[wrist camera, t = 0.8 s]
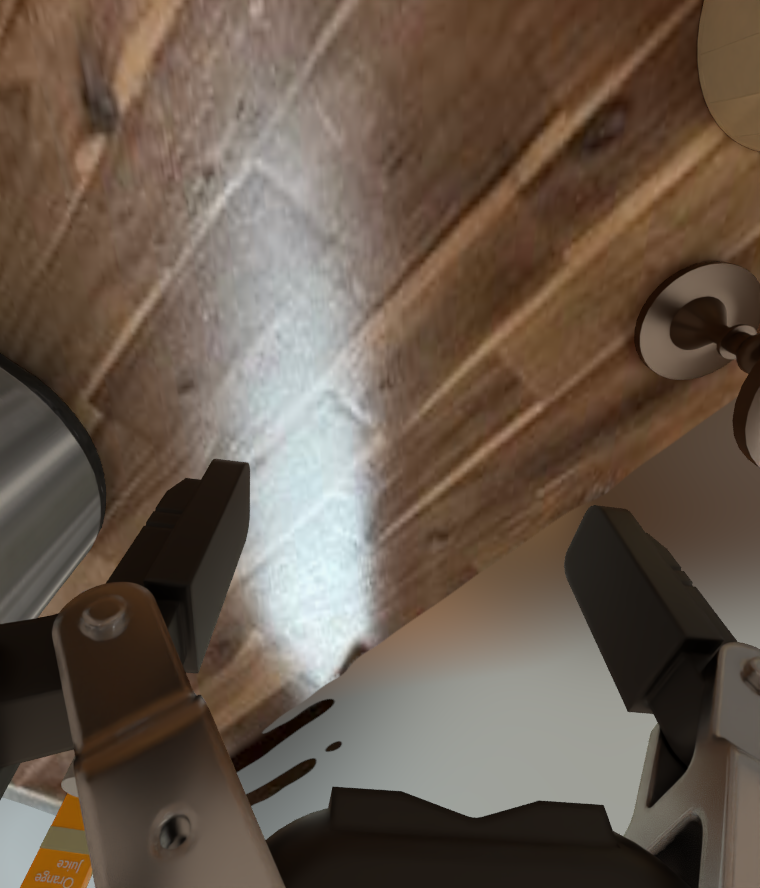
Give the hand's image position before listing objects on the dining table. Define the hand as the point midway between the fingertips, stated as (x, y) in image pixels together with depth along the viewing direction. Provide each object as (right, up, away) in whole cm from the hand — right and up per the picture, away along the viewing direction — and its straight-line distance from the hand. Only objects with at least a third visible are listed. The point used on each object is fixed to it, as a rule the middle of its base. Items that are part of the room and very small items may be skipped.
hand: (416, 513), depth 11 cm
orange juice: (-48, -56, +65) cm, 98 cm away
